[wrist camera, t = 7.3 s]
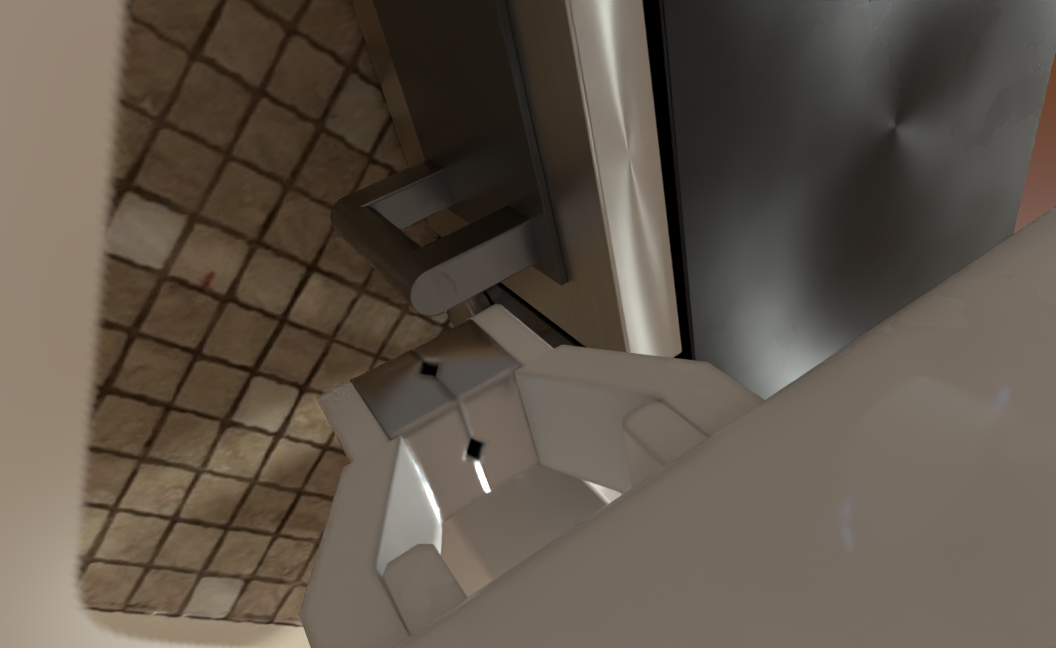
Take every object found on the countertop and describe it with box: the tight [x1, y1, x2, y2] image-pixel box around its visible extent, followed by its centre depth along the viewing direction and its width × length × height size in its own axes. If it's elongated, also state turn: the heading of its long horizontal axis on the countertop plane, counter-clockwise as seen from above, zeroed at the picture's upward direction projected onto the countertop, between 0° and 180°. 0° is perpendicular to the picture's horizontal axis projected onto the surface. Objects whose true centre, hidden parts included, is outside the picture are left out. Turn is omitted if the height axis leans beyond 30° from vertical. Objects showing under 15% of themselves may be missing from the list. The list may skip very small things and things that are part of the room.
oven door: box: [330, 0, 683, 358], centre depth 17 cm, size 5×11×12 cm, turn 13°
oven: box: [438, 0, 1056, 400], centre depth 22 cm, size 16×16×12 cm
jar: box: [441, 464, 621, 597], centre depth 27 cm, size 9×8×12 cm
